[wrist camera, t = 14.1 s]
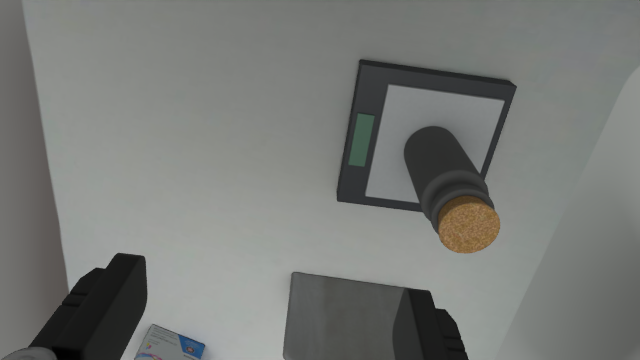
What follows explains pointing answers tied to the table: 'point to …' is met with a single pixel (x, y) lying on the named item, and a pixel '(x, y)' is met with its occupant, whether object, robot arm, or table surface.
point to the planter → (339, 319)
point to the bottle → (450, 190)
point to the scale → (414, 127)
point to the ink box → (168, 346)
